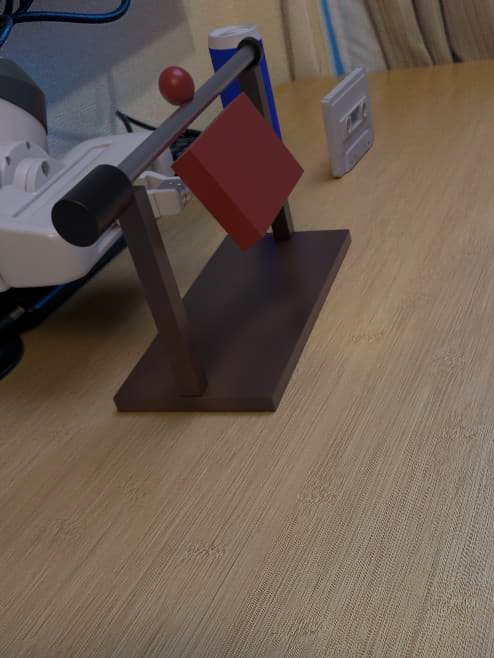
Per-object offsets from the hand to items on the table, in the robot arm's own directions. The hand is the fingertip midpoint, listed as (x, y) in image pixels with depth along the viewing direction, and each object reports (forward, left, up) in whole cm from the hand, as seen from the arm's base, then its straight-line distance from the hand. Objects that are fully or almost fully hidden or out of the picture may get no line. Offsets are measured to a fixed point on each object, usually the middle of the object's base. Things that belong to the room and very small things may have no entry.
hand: (186, 195), depth 62 cm
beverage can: (-3, +27, -10) cm, 29 cm away
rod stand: (+3, 0, -10) cm, 10 cm away
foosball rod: (+7, -3, -1) cm, 7 cm away
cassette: (+5, +35, -10) cm, 37 cm away
